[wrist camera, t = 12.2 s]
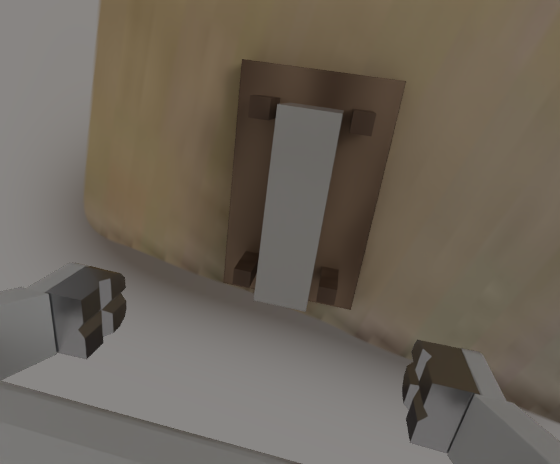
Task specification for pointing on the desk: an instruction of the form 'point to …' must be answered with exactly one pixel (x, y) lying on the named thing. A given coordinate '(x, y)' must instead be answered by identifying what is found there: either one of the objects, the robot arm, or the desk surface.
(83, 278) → the robot arm
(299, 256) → the grey rectangular block
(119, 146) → the desk surface
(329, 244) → the footed brown board
